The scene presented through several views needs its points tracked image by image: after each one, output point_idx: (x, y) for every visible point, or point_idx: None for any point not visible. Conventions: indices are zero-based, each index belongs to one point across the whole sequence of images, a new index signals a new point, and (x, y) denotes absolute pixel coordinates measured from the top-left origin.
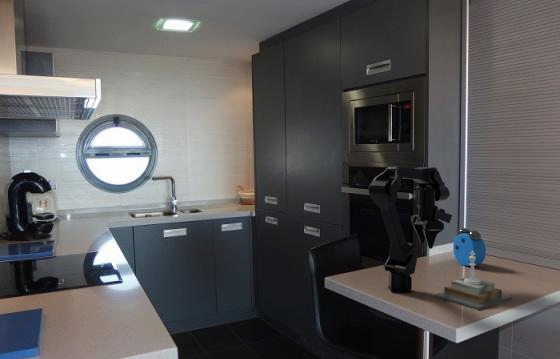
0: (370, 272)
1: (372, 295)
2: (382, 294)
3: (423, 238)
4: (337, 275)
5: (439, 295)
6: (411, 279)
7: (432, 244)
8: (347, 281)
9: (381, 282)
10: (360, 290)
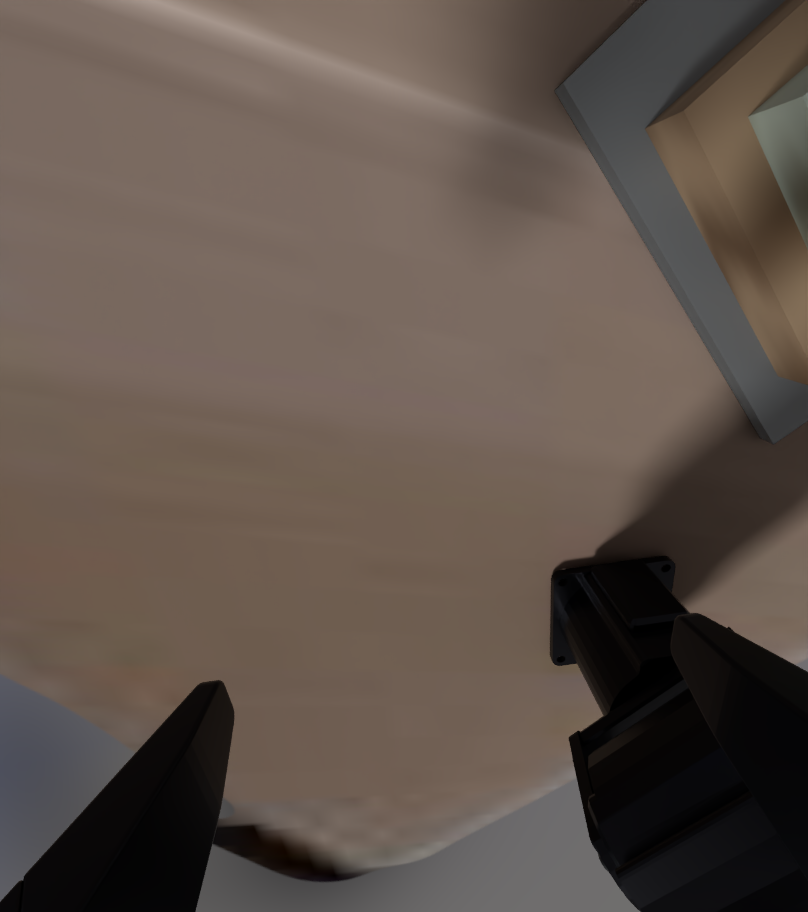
0: None
1: None
2: None
3: (190, 783)
4: (331, 845)
5: (803, 416)
6: (681, 604)
7: (778, 675)
8: (439, 806)
9: (445, 681)
10: None
